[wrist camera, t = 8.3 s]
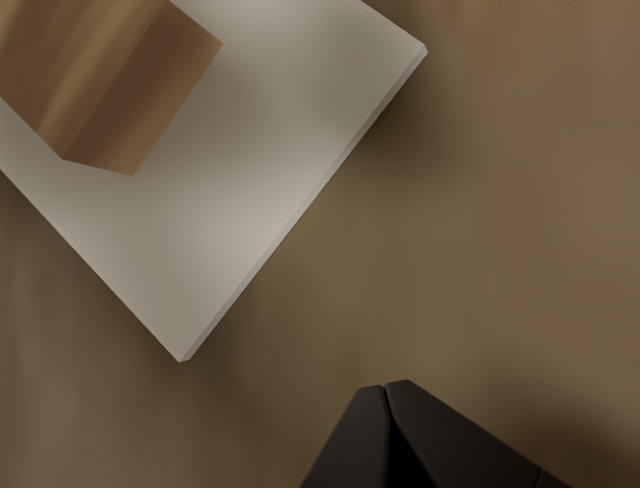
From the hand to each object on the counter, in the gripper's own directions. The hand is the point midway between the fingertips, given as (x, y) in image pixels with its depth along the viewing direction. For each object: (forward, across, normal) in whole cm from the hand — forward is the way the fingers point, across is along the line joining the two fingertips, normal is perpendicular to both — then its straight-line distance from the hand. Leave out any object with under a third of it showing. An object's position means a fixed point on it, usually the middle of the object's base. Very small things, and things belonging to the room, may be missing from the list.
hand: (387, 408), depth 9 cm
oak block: (+15, +7, -6) cm, 17 cm away
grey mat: (+19, +8, -8) cm, 22 cm away
